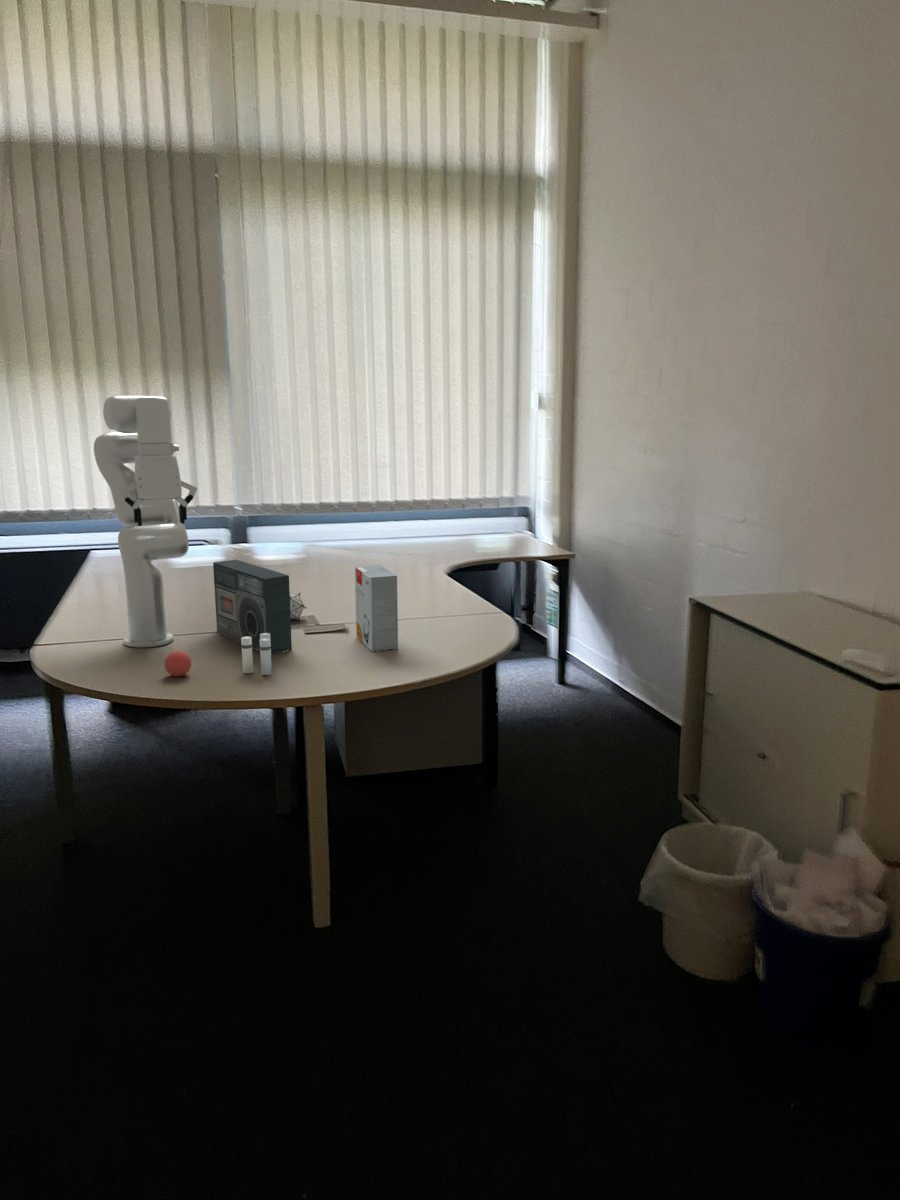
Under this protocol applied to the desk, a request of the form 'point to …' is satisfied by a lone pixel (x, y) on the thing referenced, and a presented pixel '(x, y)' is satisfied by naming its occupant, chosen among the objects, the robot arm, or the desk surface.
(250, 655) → the front pin
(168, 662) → the ball
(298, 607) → the game die
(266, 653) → the back right pin
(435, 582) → the desk surface
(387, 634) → the hard drive box
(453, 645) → the desk surface
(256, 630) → the cassette player
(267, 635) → the back left pin
